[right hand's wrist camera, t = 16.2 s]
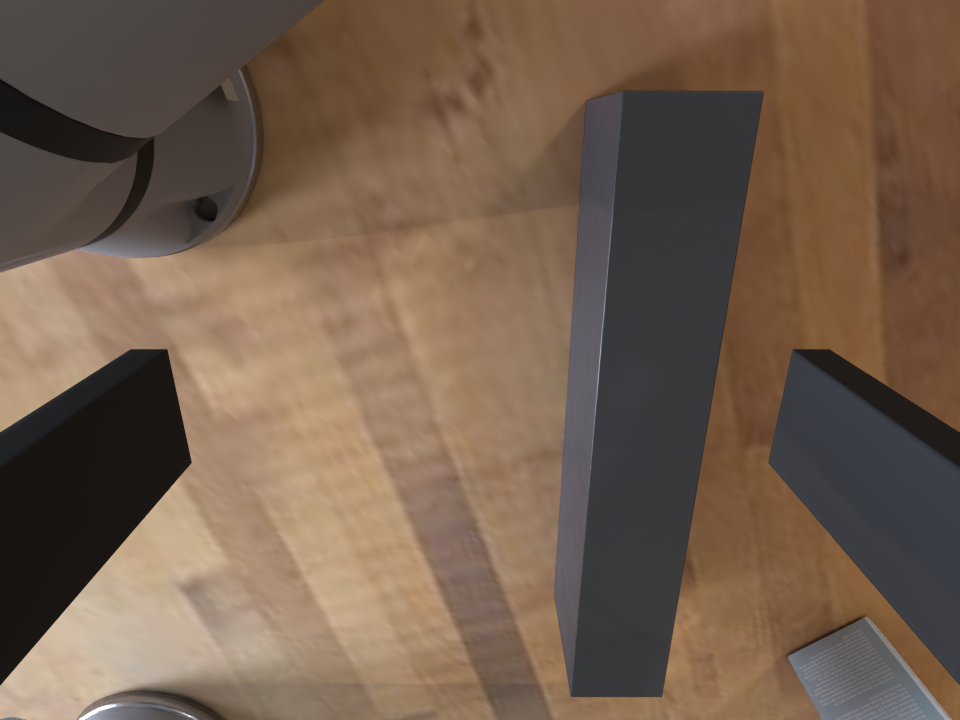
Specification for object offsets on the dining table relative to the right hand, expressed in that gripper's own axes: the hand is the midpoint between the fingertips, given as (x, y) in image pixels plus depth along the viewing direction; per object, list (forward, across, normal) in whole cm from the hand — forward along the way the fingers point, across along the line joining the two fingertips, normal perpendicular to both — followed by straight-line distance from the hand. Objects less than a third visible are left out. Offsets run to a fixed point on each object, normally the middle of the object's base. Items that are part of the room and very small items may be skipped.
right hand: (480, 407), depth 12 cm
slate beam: (+25, +9, -11) cm, 28 cm away
